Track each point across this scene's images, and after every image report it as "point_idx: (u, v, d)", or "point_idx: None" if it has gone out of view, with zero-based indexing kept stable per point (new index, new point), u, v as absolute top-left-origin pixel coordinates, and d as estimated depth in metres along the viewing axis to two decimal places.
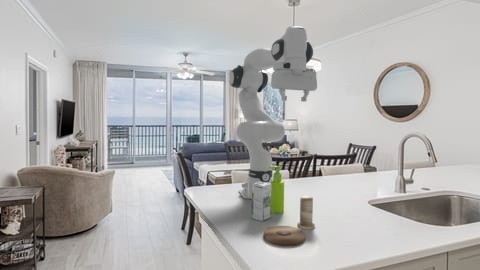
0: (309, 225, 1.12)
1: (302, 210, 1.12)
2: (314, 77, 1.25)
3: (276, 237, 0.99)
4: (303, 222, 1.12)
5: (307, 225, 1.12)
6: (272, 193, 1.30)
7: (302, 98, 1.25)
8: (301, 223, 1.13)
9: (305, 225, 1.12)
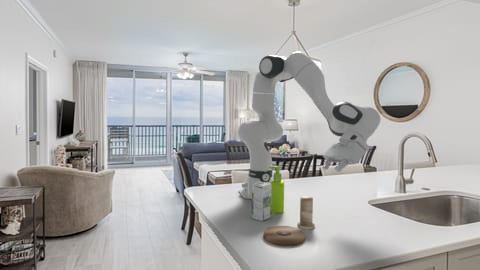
0: (309, 225, 1.12)
1: (302, 210, 1.12)
2: None
3: (276, 237, 0.99)
4: (303, 222, 1.12)
5: (307, 225, 1.12)
6: (272, 193, 1.30)
7: (326, 166, 1.20)
8: (301, 223, 1.13)
9: (305, 225, 1.12)
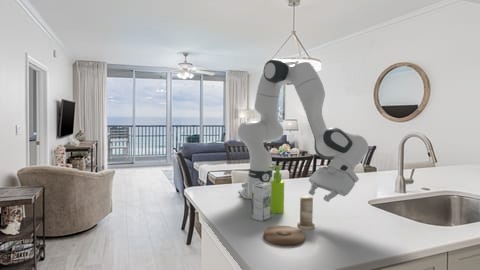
0: (309, 225, 1.12)
1: (302, 210, 1.12)
2: None
3: (276, 237, 0.99)
4: (303, 222, 1.12)
5: (307, 225, 1.12)
6: (272, 193, 1.30)
7: (313, 192, 1.19)
8: (301, 223, 1.13)
9: (305, 225, 1.12)
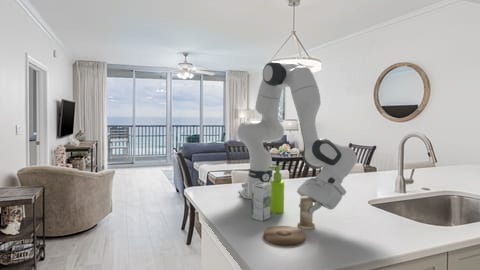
0: (309, 225, 1.12)
1: (302, 210, 1.12)
2: None
3: (276, 237, 0.99)
4: (303, 222, 1.12)
5: (307, 225, 1.12)
6: (272, 193, 1.30)
7: None
8: (301, 223, 1.13)
9: (305, 225, 1.12)
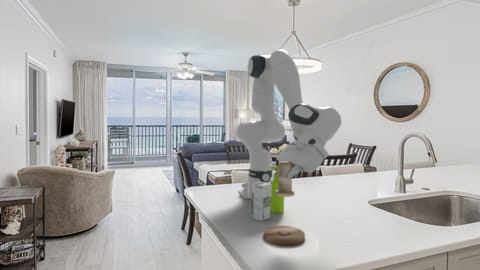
0: (288, 192, 1.01)
1: (280, 176, 1.01)
2: None
3: (276, 237, 0.99)
4: (281, 189, 1.01)
5: (286, 192, 1.01)
6: (272, 193, 1.30)
7: None
8: (279, 190, 1.02)
9: (283, 192, 1.01)
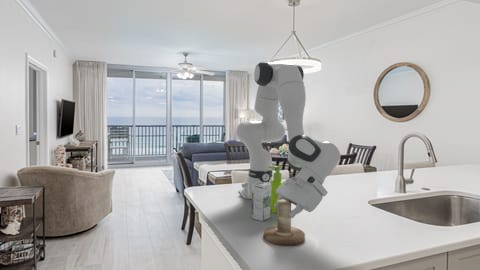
0: (287, 231, 1.02)
1: (279, 215, 1.02)
2: None
3: (276, 237, 0.99)
4: (280, 228, 1.02)
5: (285, 231, 1.01)
6: (272, 193, 1.30)
7: None
8: (278, 229, 1.03)
9: (282, 231, 1.01)
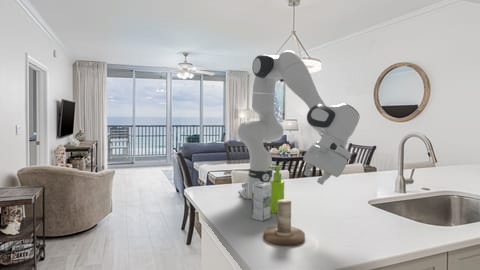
0: (287, 231, 1.02)
1: (279, 215, 1.02)
2: None
3: (276, 237, 0.99)
4: (280, 228, 1.02)
5: (285, 231, 1.01)
6: (272, 193, 1.30)
7: (308, 173, 1.14)
8: (278, 229, 1.03)
9: (282, 231, 1.01)
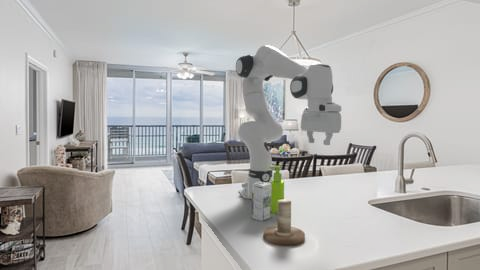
0: (287, 231, 1.02)
1: (279, 215, 1.02)
2: None
3: (276, 237, 0.99)
4: (280, 228, 1.02)
5: (285, 231, 1.01)
6: (272, 193, 1.30)
7: (312, 140, 1.18)
8: (278, 229, 1.03)
9: (282, 231, 1.01)
